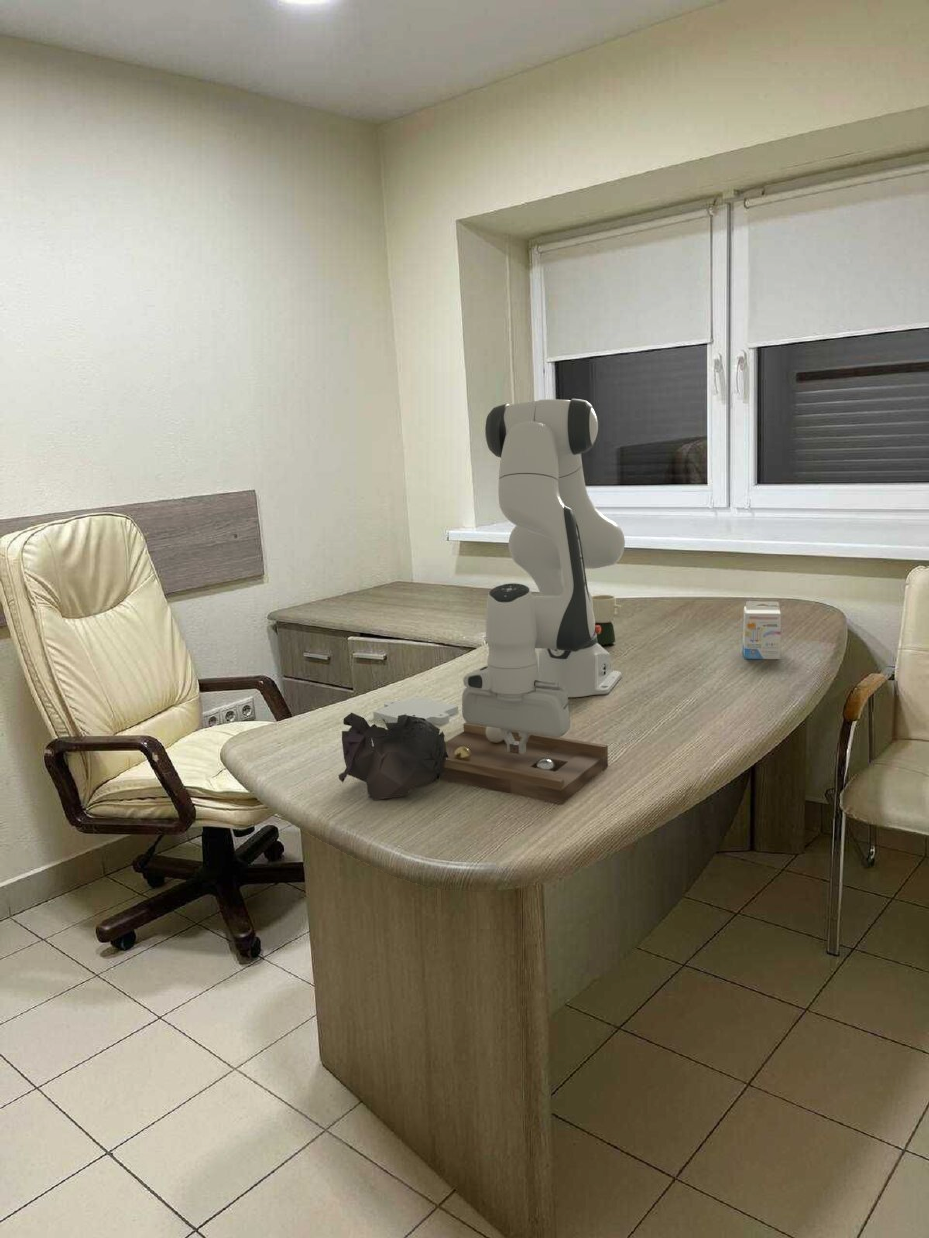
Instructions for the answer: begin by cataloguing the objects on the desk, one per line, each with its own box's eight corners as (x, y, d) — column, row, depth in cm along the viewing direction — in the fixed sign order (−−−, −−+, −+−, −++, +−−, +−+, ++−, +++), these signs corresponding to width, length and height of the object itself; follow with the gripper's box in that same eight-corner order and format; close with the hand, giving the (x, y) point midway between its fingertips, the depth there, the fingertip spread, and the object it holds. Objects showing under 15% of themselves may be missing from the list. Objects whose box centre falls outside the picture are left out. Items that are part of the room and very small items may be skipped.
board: (467, 741, 179) (466, 722, 178) (608, 766, 162) (607, 745, 162) (413, 773, 164) (411, 752, 163) (561, 804, 148) (560, 781, 147)
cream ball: (493, 737, 173) (492, 717, 172) (511, 740, 171) (510, 720, 170) (481, 744, 170) (480, 723, 169) (500, 747, 168) (499, 726, 167)
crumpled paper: (326, 802, 152) (439, 818, 146) (326, 717, 150) (441, 729, 144) (360, 778, 165) (465, 791, 159) (361, 699, 163) (467, 709, 157)
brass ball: (460, 758, 163) (459, 743, 163) (474, 761, 162) (473, 745, 161) (451, 764, 161) (450, 748, 160) (465, 767, 159) (464, 751, 158)
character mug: (628, 643, 246) (627, 596, 243) (615, 649, 241) (614, 601, 238) (592, 639, 253) (591, 593, 250) (579, 645, 247) (578, 598, 244)
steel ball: (546, 751, 160) (561, 763, 159) (539, 765, 162) (554, 777, 160) (536, 758, 157) (552, 770, 156) (529, 772, 159) (544, 784, 158)
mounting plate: (366, 717, 198) (365, 709, 197) (408, 702, 207) (408, 694, 207) (424, 733, 186) (424, 725, 185) (467, 716, 195) (466, 708, 195)
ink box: (744, 659, 225) (744, 606, 222) (742, 650, 233) (742, 599, 230) (780, 659, 223) (781, 606, 220) (777, 650, 231) (778, 599, 228)
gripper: (575, 679, 156) (577, 755, 159) (473, 667, 167) (477, 738, 170) (558, 689, 151) (561, 767, 154) (455, 676, 162) (459, 749, 165)
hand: (516, 752), depth 162 cm, fingers closed
